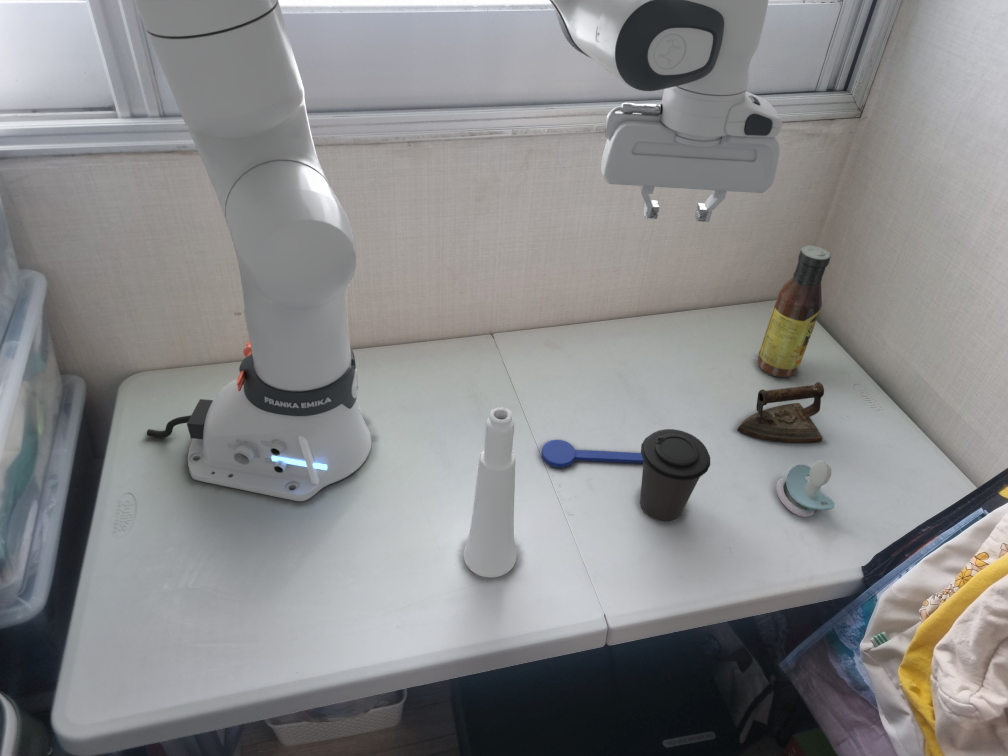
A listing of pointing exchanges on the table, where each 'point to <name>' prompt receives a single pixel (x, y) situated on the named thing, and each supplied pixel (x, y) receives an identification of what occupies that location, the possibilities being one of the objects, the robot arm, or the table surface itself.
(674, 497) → the coffee cup
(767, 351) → the sauce bottle
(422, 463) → the table surface
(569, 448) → the spoon
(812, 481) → the pacifier
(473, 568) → the cosmetic bottle
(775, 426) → the clothes iron
